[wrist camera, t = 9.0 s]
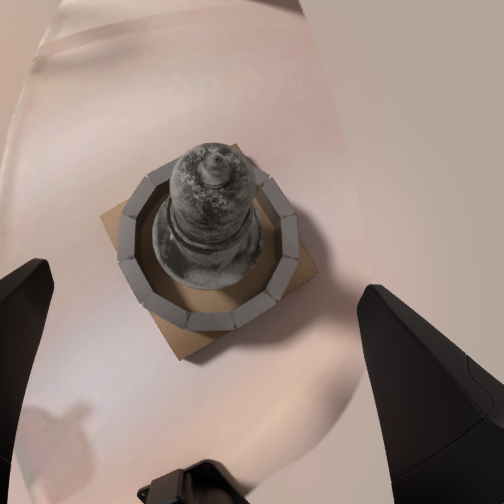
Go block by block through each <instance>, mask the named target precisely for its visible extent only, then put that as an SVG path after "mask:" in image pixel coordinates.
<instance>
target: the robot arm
mask: <svg viewBox="0 0 504 504" xmlns="http://www.w3.org/2000/svg"><path fill="white" fill-rule="evenodd" d="M53 291H54V281H53V277H52V274H51V270H50V267H49V263H48V261H47V260H45V259H40V258H34V259H32V260H30V261H29V262H27V263H25V264H24V265H22V266H21V267H19V268H17V269H16V270H14V271H13V272H11V273H10V274H8V275H7V276H5V277H4V278H2V279H1V280H0V504H7V499H8V488H9V478H10V470H11V461H12V454H13V448H14V442H15V437H16V431H17V426H18V421H19V417H20V412H21V408H22V403H23V399H24V395H25V391H26V387H27V384H28V380H29V376H30V373H31V369H32V366H33V363H34V359H35V356H36V353H37V350H38V347H39V344H40V340H41V337H42V334H43V330H44V326H45V322H46V317H47V313H48V310H49V306H50V302H51V298H52V295H53ZM357 316H358V322H359V328H360V334H361V340H362V347H363V353H364V358H365V362H366V366H367V370H368V374H369V378H370V382H371V386H372V391H373V395H374V399H375V403H376V408H377V412H378V417H379V421H380V426H381V431H382V435H383V440H384V445H385V450H386V456H387V461H388V466H389V472H390V477H391V482H392V483H391V484H392V491H393V497H394V504H504V385H503V384H502V383H501V382H500V381H498V380H497V379H495V378H494V377H493V376H492V375H491V374H489V373H488V372H487V371H486V370H484V369H483V368H482V367H481V366H480V365H478V364H477V363H476V362H475V361H474V360H473V359H472V358H470V357H469V356H468V355H466V354H465V352H463V351H462V350H461V349H460V348H459V347H457V346H456V345H455V344H454V343H453V342H451V341H450V340H449V339H448V338H447V337H446V336H444V335H443V334H442V333H441V332H440V331H438V330H437V329H436V328H435V327H433V326H432V325H431V324H430V323H429V322H427V321H426V320H425V319H424V318H423V317H421V316H420V315H419V314H418V313H416V312H415V311H414V310H413V309H411V308H410V307H409V306H407V305H406V304H405V303H404V302H402V301H401V300H400V299H399V298H398V297H396V296H395V295H394V294H392V293H391V292H390V291H389V290H387V289H386V288H385V287H383V286H382V285H378V284H370V285H368V286H367V287H366V288H365V291H364V293H363V295H362V297H361V299H360V301H359V303H358V306H357ZM204 465H209V466H210V467H209V468H204V467H203V466H204ZM142 493H144V494H146V495H147V496H143V495H142ZM137 497H138V498H139V499H140V500H141V501H142V502H143V503H144V504H250V503H249V502H248V501H247V500H246V499H245V498H244V497H243V496H242V495H241V494H240V493H239V492H238V491H237V490H236V488H235V487H234V486H233V485H232V484H231V483H230V482H229V481H228V480H227V478H226V477H225V476H224V475H223V474H222V473H221V472H220V470H219V469H218V468H217V467H216V466H215V465H214V463H213V462H212V461H210V460H207V459H205V460H202V461H200V462H198V463H196V464H194V465H192V466H190V467H188V468H186V469H184V470H183V469H177V470H175V471H173V472H171V473H169V474H166V475H164V476H162V477H160V478H157V479H155V480H153V481H152V482H151V484H150V485H148V486H146V487H143V488H141V489H139V490H138V492H137Z"/></svg>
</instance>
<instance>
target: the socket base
mask: <svg viewBox="0 0 504 504" xmlns="http://www.w3.org/2000/svg"><path fill="white" fill-rule="evenodd" d="M231 147H234V148H236V149H237V150H239V151H240V152H241V153H242V151H241V150H240V148H239V147H238V145H237V144H234V145H231ZM242 154H243V153H242ZM181 157H182V156H181ZM181 157H179V158H177V159H175V160H173V161H171V162H169V163H167V164H165V165H164V166H162V167H160V168H158V169H156V170H154V171H152V172H150V173H149V174H147V175H148V178H149V179H148V178H147V177H144V178H143V180H142V181H141V183H140V184H139V185H138V187H137V188H136V190H135V191H134V193H133V194H132V196H131V197H130V198H129V199H127V200H126V201H124V202H122V203H121V204H119V205H117V206H116V207H114V208H112V209H110V210H109V211H107V212H106V213H104V214H102V215H101V216H100V218H101V220H102V222H103V224H104V227H105V229H106V231H107V233H108V235H109V237H110V239H111V241H112V243H113V245H114V247H115V249H116V251H117V253H118V257H117V260H118V261H120V263H118V264H119V266H120V268H121V270H122V272H123V274H124V276H125V277H126V279H127V281H128V283H129V285H130V287H131V289H132V290H133V292H134V294H135V296H136V298H137V299H138V301H139V303H140V304H143V307H144V308H146V309H148V311H149V312H150V314H151V316H152V317H153V319H154V321H155V323H156V324H157V326H158V328H159V329H160V331H161V333H162V334H163V336H164V337H165V339H166V341H167V342H168V344H169V346H170V347H171V349H172V350H173V352H174V353H175V355H176V357H177V358H178V360H179V361H180V360H182V359H184V358H185V357H187V356H189V355H191V354H192V353H194V352H196V351H197V350H199V349H201V348H202V347H204V346H206V345H207V344H209V343H211V342H212V341H214V340H216V339H217V338H219V337H221V336H222V335H224V334H225V333H227V332H229V331H230V330H234V328H237V329H238V328H240V327H242V326H243V325H245V324H246V323H248V322H249V321H251V320H253V319H254V318H256V317H257V316H259V315H261V314H262V313H264V312H265V311H267V310H268V309H270V308H271V307H273V306H275V305H276V302H278V301H280V299H281V298H282V297H284V296H285V295H287V294H288V293H290V292H292V291H293V290H295V289H296V288H298V287H299V286H301V285H302V284H304V283H305V282H307V281H308V280H310V279H311V278H313V277H314V276H316V275H317V274H319V273H320V272H319V270H318V269H317V267H316V266H315V264H314V262H313V261H312V259H311V257H310V256H309V254H308V253H307V251H306V249H305V248H304V246H303V245H302V243H301V241H300V240H299V238H298V226H297V216H296V215H294V214H295V211H294V209H293V208H292V206H291V204H290V203H289V201H288V200H287V198H286V197H285V195H284V194H283V192H282V191H281V189H280V188H279V186H278V185H277V183H276V182H275V180H274V179H273V177H272V178H270V179H268V178H269V176H270V175H269V174H267V173H265V172H264V171H262V170H260V169H258V168H256V167H254V166H253V165H252V168H253V170H254V172H255V180H256V191H255V197H254V199H253V204H254V205H255V207H256V208H257V210H258V212H259V215H260V217H261V220H262V222H263V229H264V242H263V249H262V252H261V255H260V257H259V259H258V262H257V264H256V265H255V266H254V268H253V269H252V270H251V271H250V272H249V274H248V275H247V276H245V277H244V278H243V279H241V280H240V281H239V282H237V283H236V284H234V285H231V286H228V287H226V288H223V289H219V290H208V291H205V290H199V289H193V288H190V287H188V286H185V285H183V284H181V283H179V282H177V281H176V280H175V279H174V278H172V277H171V276H170V275H169V274H168V273H167V272H166V271H165V270H164V268H163V267H162V265H161V264H160V262H159V261H158V259H157V256H156V253H155V250H154V247H153V238H152V230H153V225H154V221H155V217H156V215H157V213H158V211H159V209H160V207H161V205H162V204H163V203H164V202H165V201H166V200H167V198H168V197H169V196H170V179H171V175H172V171H173V169H174V167H175V165H176V163H177V162H178V160H179V159H180V158H181Z"/></svg>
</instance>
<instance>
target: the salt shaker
mask: <svg viewBox="0 0 504 504" xmlns="http://www.w3.org/2000/svg"><path fill="white" fill-rule="evenodd" d="M255 191H256V180H255V172H254V170H253V168H252V165H251V163H250V162H249V160H248V159H247V158H246V156H245V155H244V154H242V153H241V152H240V151H239V150H237V149H236V148H234V147H231V146H229V145H227V144H221V143H205V144H202V145H199V146H195V147H194V148H192V149H190V150H189V151H187V152H186V153H185V154H184V155H183V156H182V157H181V158H180V159H179V160H178V162H177V163H176V165H175V167H174V169H173V171H172V175H171V179H170V196H169V197H168V198H167V200H166V201H165V202H164V203H163V204H162V205H161V207H160V209H159V211H158V213H157V215H156V217H155V221H154V225H153V230H152V238H153V247H154V250H155V253H156V256H157V259H158V261H159V262H160V264H161V265H162V267H163V268H164V270H165V271H166V272H167V273H168V274H169V275H170V276H171V277H172V278H174V279H175V280H176V281H177V282H179V283H181V284H183V285H185V286H188V287H190V288H193V289H199V290H205V291H208V290H219V289H223V288H226V287H228V286H231V285H234V284H236V283H237V282H239V281H240V280H241V279H243V278H244V277H245V276H247V275H248V274H249V272H250V271H251V270H252V269H253V268H254V266H255V265H256V264H257V262H258V259H259V257H260V255H261V252H262V249H263V242H264V229H263V222H262V220H261V217H260V215H259V212H258V210H257V208H256V207H255V205H254V204H253V199H254V197H255Z"/></svg>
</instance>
